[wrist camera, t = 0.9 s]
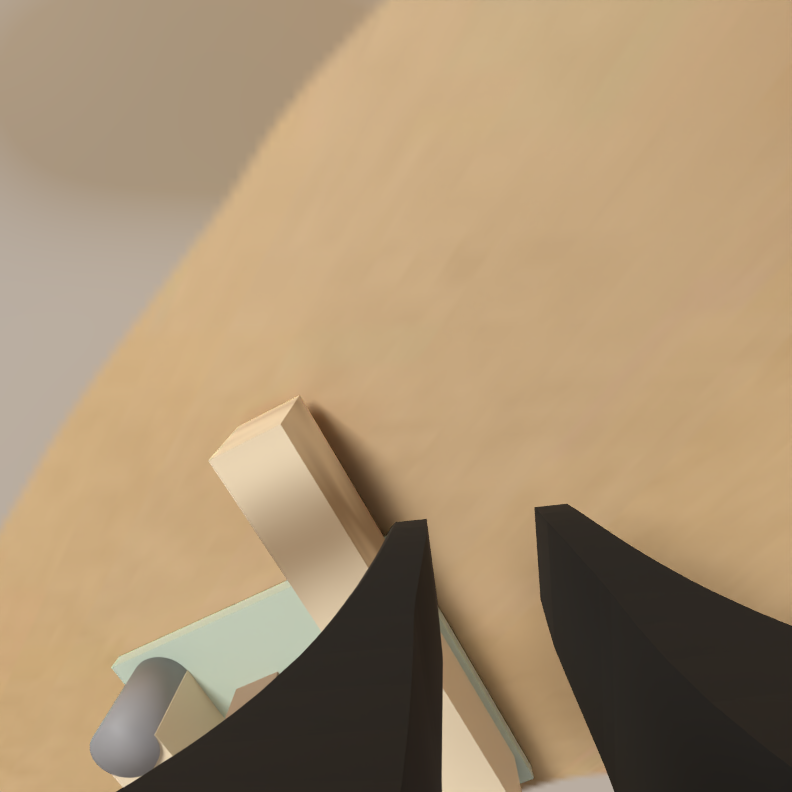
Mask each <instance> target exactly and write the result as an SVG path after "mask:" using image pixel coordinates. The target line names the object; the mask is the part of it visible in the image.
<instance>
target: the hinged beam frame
mask: <svg viewBox="0 0 792 792" xmlns="http://www.w3.org/2000/svg"><path fill="white" fill-rule="evenodd" d="M386 536H387V535H386ZM386 536H384V538H386ZM438 612H439V622H440V632H441V643H442V654H443V710H442V792H522V791H521V786H520V783H523V782H526V781H529V780H531V779H534V776H533V772H532V768H531V765H530V763H529V761H528V760H527V758H526V756H525V754H524V753H523V751H522V749H521V748H520V746H519V744H518V742H517V741H516V739H515V737H514V736H513V734H512V732H511V730H510V729H509V727H508V725H507V724H506V722H505V720H504V719H503V717H502V715H501V713H500V712H499V710H498V708H497V707H496V705H495V703H494V701H493V700H492V698H491V696H490V695H489V693H488V691H487V689H486V688H485V686H484V684H483V683H482V681H481V679H480V677H479V676H478V674H477V672H476V671H475V669H474V667H473V665H472V664H471V662H470V660H469V659H468V657H467V655H466V653H465V652H464V650H463V648H462V647H461V645H460V643H459V641H458V640H457V638H456V636H455V635H454V633H453V631H452V629H451V628H450V626H449V624H448V623H447V621H446V619H445V617H444V616H443V614H442V612H441V611H440V609H439V607H438ZM320 633H321V630H320V629H319V627H318V626H317V624H316V623H315V621H314V620H313V618H312V617H311V615H310V614H309V612H308V611H307V609H306V608H305V606H304V605H303V603H302V602H301V600H300V599H299V597H298V595H297V594H296V592H295V591H294V589H293V588H292V586H291V585H290V583H289V582H288V580H287V581H285V582H283V583H281V584H278V585H276V586H274V587H272V588H270V589H267V590H265V591H263V592H261V593H258V594H256V595H254V596H252V597H250V598H247V599H245V600H243V601H241V602H239V603H236V604H234V605H232V606H230V607H228V608H225V609H223V610H221V611H219V612H217V613H214V614H212V615H210V616H208V617H206V618H203V619H201V620H199V621H197V622H194V623H192V624H190V625H188V626H186V627H183V628H181V629H179V630H177V631H175V632H172V633H170V634H168V635H166V636H164V637H161V638H159V639H157V640H155V641H153V642H150V643H148V644H146V645H144V646H141V647H139V648H137V649H135V650H133V651H130V652H128V653H126V654H124V655H122V656H119V657H118V659H117V660H116V662H115V663H114V665H113V666H112V667H111V668H112V669H113V670H114V672H115V673H116V674H117V675H118V677H119V678H120V679H121V680H122V682H123V683H124V684H125V686H124V688H123V689H122V691H121V693H120V694H119V696H118V697H117V699H116V701H115V702H114V704H113V705H112V707H111V709H110V710H109V712H108V713H107V715H106V717H105V718H104V720H103V721H102V723H101V725H100V726H99V728H98V729H97V731H96V733H95V734H94V736H93V738H92V740H91V742H90V752H91V755H92V758H93V759H94V761H95V762H96V764H97V765H98V766H99V767H101V768H102V769H103V770H105V771H106V772H108V773H110V774H112V775H113V776H114V778H115V779H116V780H117V781H118V782H119V783H120V785H121V786H122V787H125V786H127V785H128V784H130V783H132V782H133V781H135V780H136V779H138V778H139V777H141V776H142V775H144V774H146V773H147V772H149V771H150V770H152V769H153V768H155V767H156V766H158V765H160V764H161V763H163V762H164V761H166V760H167V759H169V758H170V757H172V756H174V755H175V754H177V753H178V752H180V751H181V750H183V749H184V748H186V747H188V746H189V745H190V744H192V743H193V742H195V741H196V740H198V739H199V738H200V737H202V736H203V735H205V734H206V733H207V732H209V731H210V730H212V729H213V728H214V727H216V726H217V725H218V724H220V723H221V722H222V721H224V720H225V719H226V718H228V717H229V716H230V715H232V714H233V713H234V712H236V711H237V710H238V709H239V708H241V707H242V706H243V705H244V704H246V703H247V702H248V701H249V700H251V699H252V698H253V697H254V696H255V695H257V694H258V693H259V692H260V691H261V690H263V689H264V688H265V687H266V686H267V685H268V684H269V683H270V682H271V681H272V680H274V679H275V678H276V677H277V676H278V675H279V674H280V673H281V672H282V671H283V670H284V669H286V668H287V667H288V666H289V665H290V664H291V663H292V662H293V661H294V660H295V659H297V658H298V657H299V656H300V655H301V654H302V653H303V652H304V651H305V650H306V648H307V647H308V646H309V645H310V644H311V643H312V642H313V641H314V640H315V639H316V638H317V636H318V635H319V634H320Z"/></svg>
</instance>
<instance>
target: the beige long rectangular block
mask: <svg viewBox="0 0 792 792" xmlns="http://www.w3.org/2000/svg"><path fill="white" fill-rule="evenodd" d="M208 461H209V463H210V464H211V466H212V467H213V469H214V470H215V472H216V473H217V475H218V476H219V478H220V479H221V481H222V482H223V484H224V485H225V487H226V488H227V490H228V491H229V493H230V494H231V496H232V497H233V499H234V500H235V502H236V503H237V505H238V506H239V508H240V509H241V511H242V512H243V514H244V515H245V517H246V518H247V520H248V521H249V523H250V524H251V526H252V528H253V529H254V531H255V532H256V534H257V535H258V537H259V538H260V540H261V541H262V543H263V544H264V546H265V547H266V549H267V550H268V552H269V553H270V555H271V556H272V558H273V559H274V561H275V562H276V564H277V565H278V567H279V568H280V570H281V571H282V573H283V574H284V576H285V577H286V579H287V580H288V582H289V583H290V585H291V586H292V588H293V589H294V591H295V592H296V594H297V595H298V597H299V599H300V600H301V602H302V603H303V605H304V606H305V608H306V609H307V611H308V612H309V614H310V615H311V617H312V618H313V620H314V621H315V623H316V624H317V626H318V627H319V629H320V630H321V632H322V631H323V630H324V628H325V627H326V626H327V625H328V624H329V622H330V621H331V620H332V619H333V617H334V616H335V615H336V614H337V612H338V611H339V610H340V608H341V607H342V606H343V604H344V603H345V602H346V600H347V599H348V597H349V596H350V595H351V593H352V592H353V591H354V589H355V588H356V586H357V585H358V584H359V582H360V580H361V579H362V577H363V576H364V574H365V573H366V571H367V569H368V568H369V566H370V565H371V563H372V562H373V560H374V558H375V556H376V555H377V553H378V551H379V550H380V548H381V546H382V544H383V542H384V540H385V538H384V537H383V535H382V533H381V531H380V530H379V528H378V526H377V525H376V523H375V521H374V520H373V518H372V516H371V515H370V513H369V511H368V509H367V508H366V506H365V504H364V503H363V501H362V499H361V498H360V496H359V494H358V493H357V491H356V489H355V487H354V486H353V484H352V482H351V481H350V479H349V477H348V476H347V474H346V472H345V471H344V469H343V467H342V466H341V464H340V462H339V460H338V459H337V457H336V455H335V454H334V452H333V450H332V449H331V447H330V445H329V444H328V442H327V440H326V438H325V437H324V435H323V433H322V432H321V430H320V428H319V427H318V425H317V423H316V422H315V420H314V418H313V416H312V415H311V413H310V411H309V410H308V408H307V406H306V405H305V403H304V401H303V400H302V398H301V396H300V395H299V396H297V397H295V398H293V399H291V400H289V401H287V402H285V403H283V404H281V405H279V406H277V407H275V408H273V409H271V410H269V411H267V412H265V413H263V414H261V415H260V416H258V417H256V418H254V419H252V420H250V421H248V422H246V423H244V424H242V425H240V426H238V427H237V428H236V429H235V431H234V432H233V433H232V434H231V435H230V436H229V437H228V439H227V440H226V441H225V442H224V443H223V444H222V445H221V446H220V448H219V449H218V450H217V451H216V452H215V453H214V454H213V456H212V457H211V458H210V459H209V460H208Z"/></svg>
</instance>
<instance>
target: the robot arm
mask: <svg viewBox="0 0 792 792" xmlns="http://www.w3.org/2000/svg"><path fill="white" fill-rule="evenodd" d="M535 522H536V537H537V552H538V567H539V582H540V597H541V602H542V606H543V609H544V613H545V616H546V620H547V623H548V627H549V630H550V634H551V637H552V640H553V644H554V647H555V650H556V652H557V655H558V657H559V659H560V662H561V664H562V667H563V669H564V671H565V674H566V676H567V679H568V681H569V683H570V686H571V688H572V690H573V693H574V695H575V697H576V700H577V702H578V704H579V707H580V709H581V712H582V714H583V716H584V719H585V721H586V723H587V726H588V728H589V730H590V733H591V735H592V737H593V740H594V742H595V744H596V747H597V749H598V751H599V754H600V756H601V758H602V761H603V763H604V766H605V768H606V771H607V773H608V776H609V779H610V781H611V784H612V786H613V789H614V792H792V626H791V625H788V624H786V623H783V622H780V621H778V620H776V619H773V618H771V617H768V616H766V615H763V614H761V613H759V612H756V611H754V610H752V609H750V608H747V607H745V606H743V605H741V604H739V603H736V602H734V601H732V600H730V599H728V598H726V597H723V596H721V595H719V594H717V593H715V592H713V591H711V590H709V589H707V588H705V587H703V586H701V585H699V584H697V583H695V582H693V581H691V580H689V579H687V578H685V577H684V576H682V575H680V574H678V573H676V572H675V571H673V570H671V569H669V568H667V567H666V566H664V565H662V564H660V563H658V562H657V561H655V560H653V559H652V558H650V557H648V556H647V555H645V554H643V553H642V552H640V551H638V550H637V549H635V548H634V547H632V546H630V545H629V544H627V543H626V542H624V541H623V540H621V539H619V538H618V537H616V536H615V535H613V534H612V533H610V532H609V531H607V530H606V529H604V528H603V527H601V526H600V525H598V524H597V523H595V522H594V521H592V520H591V519H589V518H588V517H587V516H585V515H584V514H582V513H581V512H579V511H578V510H576V509H574V508H573V507H571V506H570V505H568V504H561V505H552V506H543V507H535ZM442 710H443V654H442V643H441V632H440V622H439V612H438V603H437V596H436V588H435V580H434V573H433V565H432V557H431V549H430V542H429V534H428V526H427V519H423V520H414V521H404V522H395V524H394V525H393V526H392V527H391V528H390V530H389V532H388V534H387V536H386V538H385V540H384V542H383V544H382V546H381V548H380V550H379V551H378V553H377V555H376V556H375V558H374V560H373V562H372V563H371V565H370V566H369V568H368V569H367V571H366V573H365V574H364V576H363V577H362V579H361V580H360V582H359V584H358V585H357V586H356V588H355V589H354V591H353V592H352V593H351V595H350V596H349V597H348V599H347V600H346V602H345V603H344V604H343V606H342V607H341V608H340V610H339V611H338V612H337V614H336V615H335V616H334V617H333V619H332V620H331V621H330V622H329V624H328V625H327V626H326V627H325V628H324V630H323V631H322V632H321V633H320V634H319V635H318V636H317V638H316V639H315V640H314V641H313V642H312V643H311V644H310V645H309V646H308V647H307V648H306V650H305V651H304V652H303V653H302V654H301V655H300V656H299V657H298V658H297V659H295V660H294V661H293V662H292V663H291V664H290V665H289V666H288V667H287V668H286V669H284V670H283V671H282V672H281V673H280V674H279V675H278V676H277V677H276V678H275V679H274V680H272V681H271V682H270V683H269V684H268V685H267V686H266V687H265V688H264V689H263V690H261V691H260V692H259V693H258V694H257V695H255V696H254V697H253V698H252V699H251V700H249V701H248V702H247V703H246V704H244V705H243V706H242V707H241V708H239V709H238V710H237V711H236V712H234V713H233V714H232V715H230V716H229V717H228V718H226V719H225V720H224V721H222V722H221V723H220V724H218V725H217V726H216V727H214V728H213V729H212V730H210V731H209V732H207V733H206V734H205V735H203V736H202V737H200V738H199V739H198V740H196V741H195V742H193V743H192V744H190V745H189V746H188V747H186V748H184V749H183V750H181V751H180V752H178V753H177V754H175V755H174V756H172V757H170V758H169V759H167V760H166V761H164V762H163V763H161V764H160V765H158V766H156V767H155V768H153V769H152V770H150V771H149V772H147V773H146V774H144V775H142V776H141V777H139V778H138V779H136V780H135V781H133V782H132V783H130V784H128V785H127V786H125V787H123V788H122V789H120V790H118V791H117V792H442Z"/></svg>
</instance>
